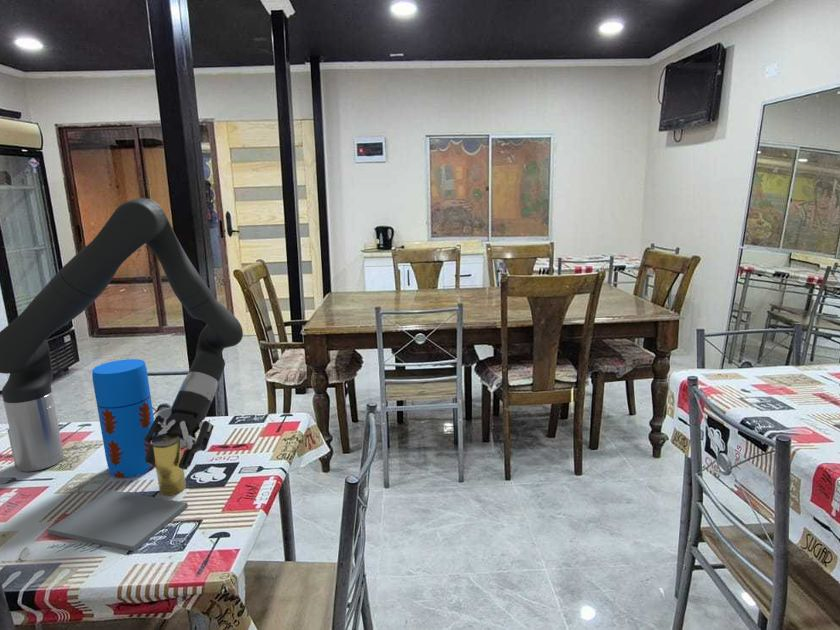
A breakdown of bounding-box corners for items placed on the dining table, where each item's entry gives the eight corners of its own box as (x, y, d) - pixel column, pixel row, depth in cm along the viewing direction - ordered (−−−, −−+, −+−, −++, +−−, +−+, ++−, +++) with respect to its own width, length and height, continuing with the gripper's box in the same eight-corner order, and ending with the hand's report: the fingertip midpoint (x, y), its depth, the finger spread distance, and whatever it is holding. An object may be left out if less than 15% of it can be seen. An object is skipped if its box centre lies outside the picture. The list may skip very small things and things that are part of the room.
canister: (153, 493, 111) (145, 442, 109) (171, 480, 116) (164, 431, 114) (174, 497, 110) (167, 445, 107) (191, 484, 115) (185, 434, 112)
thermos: (138, 480, 117) (121, 375, 111) (97, 476, 119) (79, 373, 113) (170, 457, 127) (156, 359, 122) (132, 453, 129) (116, 357, 124)
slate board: (48, 533, 99) (47, 529, 98) (109, 493, 112) (109, 489, 111) (134, 551, 93) (133, 546, 93) (187, 507, 106) (187, 502, 106)
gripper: (159, 386, 118) (126, 456, 110) (213, 391, 114) (183, 464, 106) (179, 399, 124) (149, 467, 116) (230, 405, 120) (203, 475, 112)
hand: (165, 466), depth 111 cm, fingers open, 8 cm apart
